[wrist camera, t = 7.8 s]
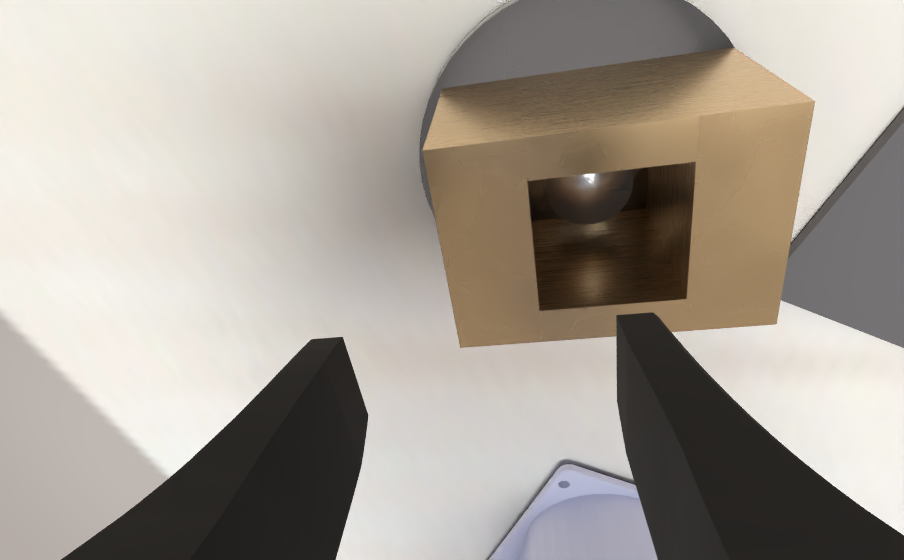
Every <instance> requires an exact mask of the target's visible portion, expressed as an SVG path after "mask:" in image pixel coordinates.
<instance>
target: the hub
mask: <svg viewBox="0 0 904 560" xmlns="http://www.w3.org/2000/svg"><path fill="white" fill-rule="evenodd" d="M731 47H734V46H733V45H732V43H731V41H730V40H729V38H728V37H727V36H726V35H725V34H724V33H723V32H722V30H721V29H720V28H719V27H718V26H717V25H716V24H715V23H714V22H713V21H712V20H711V19H710V18H709V17H707V16H706V15H705V14H704V13H702V12H701V11H700V10H699V9H697V8H696V7H695V6H693V5H692V4H690V3H688V2H686V1H685V0H511V1H509V2H507V3H505V4H503V5H502V6H501V7H499V8H498V9H497V10H495V11H494V12H492V13H491V14H490V15H488V16H487V17H486V18H484V19H483V20H482V21H481V22H480V23H479V24H478V25H477V26H476V27H475V28H474V29H473V30H472V31H471V32H470V33H468V34H467V35H466V37H465V38H464V39H463V40H462V42H461V43H460V44H459V45H458V47H457V48H456V49H455V50H454V52H453V53H452V54H451V56H450V58H449V59H448V61H447V63H446V64H445V66H444V68H443V69H442V71H441V73H440V75H439V77H438V79H437V82H436V84H435V86H434V88H433V91H432V93H431V96H430V98H429V101H428V105H427V108H426V112H425V115H424V119H423V124H422V131H421V138H420V168H421V175H422V182H423V186H424V189H425V193H426V197H427V200H428V203H429V205H430V207H431V210H432V212H433V214H434V209H433V203H432V198H431V193H430V188H429V183H428V177H427V172H426V167H425V162H424V157H423V151H422V150H423V147H424V144H425V141H426V138H427V135H428V132H429V129H430V125H431V122H432V119H433V116H434V113H435V110H436V107H437V104H438V101H439V98H440V95H441V91H442V88H448V87H455V86H462V85H469V84H476V83H483V82H490V81H497V80H505V79H512V78H519V77H526V76H533V75H540V74H547V73H554V72H561V71H568V70H575V69H583V68H590V67H597V66H604V65H611V64H618V63H625V62H632V61H639V60H646V59H653V58H661V57H668V56H675V55H682V54H689V53H696V52H703V51H710V50H717V49H724V48H731ZM528 184H529V194H530V205H531V216H532V221H534V220H544V219H553V218H563V219H565V220H567V221H569V222H572V223H576V224H583V225H587V224H596V223H600V222H603V221H605V220H607V219H609V218H611V217H613V216H614V215H616V214H617V213H618V212H620V211H630V210H639V209H646V186H647V167H646V168H637V169H628V170H620V171H611V172H602V173H593V174H585V175H576V176H567V177H559V178H550V179H541V180H532V181H528ZM434 217H435V214H434Z"/></svg>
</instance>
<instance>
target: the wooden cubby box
mask: <svg viewBox="0 0 904 560" xmlns="http://www.w3.org/2000/svg"><path fill="white" fill-rule="evenodd" d="M814 104H815V101H814V100H812V99H811V98H809V97H808V96H806V95H805V94H803V93H802V92H800V91H799V90H797V89H796V88H794V87H793V86H791V85H790V84H788V83H787V82H785V81H784V80H782V79H781V78H779V77H778V76H776V75H775V74H773V73H772V72H770V71H769V70H767V69H766V68H764V67H763V66H761V65H760V64H758V63H757V62H755V61H753V60H752V59H750V58H749V57H747V56H746V55H744V54H743V53H741V52H740V51H738V50H737V49H735V48H734V47H731V48H724V49H717V50H710V51H703V52H696V53H689V54H682V55H675V56H668V57H661V58H653V59H646V60H639V61H632V62H625V63H618V64H611V65H604V66H597V67H590V68H583V69H575V70H568V71H561V72H554V73H547V74H540V75H533V76H526V77H519V78H512V79H505V80H497V81H490V82H483V83H476V84H469V85H462V86H455V87H448V88H442V91H441V95H440V98H439V101H438V104H437V107H436V110H435V113H434V116H433V119H432V122H431V125H430V129H429V132H428V135H427V138H426V141H425V144H424V147H423V150H422V151H423V157H424V162H425V167H426V172H427V177H428V183H429V188H430V193H431V198H432V203H433V209H434V214H435V219H436V224H437V229H438V234H439V240H440V245H441V250H442V255H443V260H444V266H445V271H446V276H447V281H448V286H449V292H450V297H451V302H452V307H453V312H454V318H455V323H456V328H457V333H458V338H459V344H460V348H463V347H476V346H490V345H503V344H517V343H530V342H544V341H557V340H571V339H584V338H597V337H611V336H617V333H616V315H624V314H637V313H649V312H653V313H654V314H656V315H657V316H658V317H659V318H660V319H661V320H662V322H663V323H664V324H665V325H666V326H667V328H668V329H669V330H670V331H671V332H678V331H692V330H705V329H719V328H732V327H746V326H759V325H773V324H777V318H778V312H779V306H780V300H781V295H782V289H783V283H784V277H785V272H786V266H787V260H788V254H789V248H790V243H791V237H792V231H793V225H794V220H795V214H796V208H797V202H798V196H799V191H800V185H801V179H802V173H803V167H804V162H805V156H806V150H807V144H808V139H809V133H810V127H811V121H812V115H813V110H814ZM646 167H647V186H646V209H639V210H630V211H620V212H618V213H617V214H616V215H614V216H613V217H611V218H609V219H607V220H605V221H603V222H600V223H596V224H587V225H583V224H576V223H572V222H569V221H567V220H565V219H563V218H553V219H544V220H534V221H532V216H531V205H530V194H529V184H528V181H532V180H541V179H550V178H559V177H567V176H576V175H585V174H593V173H602V172H611V171H620V170H628V169H637V168H646Z"/></svg>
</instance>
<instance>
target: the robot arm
mask: <svg viewBox="0 0 904 560" xmlns="http://www.w3.org/2000/svg"><path fill="white" fill-rule="evenodd" d="M616 333H617V403H618V409H619V415H620V420H621V426H622V432H623V437H624V443H625V448H626V454H627V457H628V461H629V464H630V468H631V471H632V475H633V478H634V481H635V485H634V484H631V483H628V482H625V481H621V480H618V479H615V478H612V477H609V476H606V475H603V474H600V473H597V472H594V471H591V470H588V469H585V468H582V467H579V466H575V465H572V464H565V465H562V466H560V467H559V468H558V469H557V471H556V472H555V473H554V475H553V476H552V477H551V479H550V480H549V481H548V483H547V484H546V485H545V486H544V488H543V489H542V490H541V492H540V493H539V494H538V496H537V497H536V498H535V500H534V501H533V502H532V504H531V505H530V506H529V507H528V509H527V510H526V511H525V513H524V514H523V515H522V517H521V518H520V519H519V521H518V522H517V523H516V525H515V526H514V527H513V528H512V530H511V531H510V532H509V534H508V535H507V536H506V538H505V539H504V540H503V542H502V543H501V544H500V546H499V547H498V548H497V550H496V551H495V552H494V553H493V555H492V556H491V557H490V559H489V560H904V535H902V534H901V533H899V532H898V531H896V530H895V529H893V528H892V527H891V526H889V525H888V524H886V523H885V522H883V521H882V520H880V519H879V518H877V517H876V516H874V515H873V514H871V513H870V512H868V511H867V510H865V509H864V508H863V507H861V506H860V505H859V504H857V503H856V502H855V501H853V500H852V499H850V498H849V497H848V496H846V495H845V494H844V493H842V492H841V491H840V490H838V489H837V488H836V487H834V486H833V485H832V484H830V483H829V482H828V481H827V480H825V479H824V478H823V477H822V476H820V475H819V474H818V473H816V472H815V471H814V470H813V469H811V468H810V467H809V466H808V465H806V464H805V463H804V462H803V461H801V460H800V459H799V458H798V457H797V456H795V455H794V454H793V453H792V452H791V451H789V450H788V449H787V448H786V447H785V446H784V445H782V444H781V443H780V442H779V441H778V440H777V439H776V438H774V437H773V436H772V435H771V434H770V433H769V432H768V431H767V430H766V429H764V428H763V427H762V426H761V425H760V424H759V423H758V422H757V421H756V420H755V419H753V418H752V417H751V416H750V415H749V414H748V413H747V412H746V411H745V410H744V409H743V408H742V407H741V406H740V405H739V404H738V403H737V402H736V401H734V400H733V399H732V398H731V396H730V395H729V394H728V393H727V392H726V391H725V390H724V389H723V388H722V387H721V386H720V385H719V384H718V383H717V382H716V381H715V380H714V379H713V378H712V377H711V376H710V375H709V374H708V373H707V372H706V371H705V370H704V369H703V368H702V367H701V366H700V365H699V363H698V362H697V361H696V360H695V359H694V358H693V357H692V356H691V355H690V353H689V352H688V351H687V350H686V349H685V348H684V347H683V346H682V344H681V343H680V342H679V341H678V340H677V339H676V337H675V336H674V335H673V334H672V333H671V331H670V330H669V329H668V328H667V326H666V325H665V324H664V323H663V322H662V320H661V319H660V318H659V317H658V316H657V315H656V314H654V313H653V312H649V313H637V314H624V315H616ZM367 422H368V413H367V410H366V407H365V404H364V401H363V398H362V395H361V392H360V389H359V386H358V383H357V379H356V376H355V373H354V370H353V367H352V364H351V361H350V358H349V355H348V352H347V349H346V346H345V343H344V340H343V337H336V338H323V339H312V340H310V341H309V342H308V343H307V344H306V345H305V346H304V347H303V348H302V349H301V350H300V351H299V352H298V353H297V354H296V355H295V356H294V357H293V358H292V359H291V360H290V362H289V363H288V364H287V365H286V366H285V367H284V368H283V369H282V370H281V371H280V372H279V373H278V374H277V375H276V376H275V377H274V378H273V379H272V380H271V381H270V382H269V384H268V385H267V386H266V387H265V388H264V389H263V390H262V391H261V392H260V393H259V394H258V395H257V396H256V397H255V398H254V399H253V400H252V401H251V402H250V403H249V404H248V405H247V406H246V407H245V408H244V409H243V410H242V411H241V412H240V413H239V414H238V415H237V416H236V417H235V418H234V419H233V420H232V421H231V422H230V423H229V424H228V425H227V426H226V427H225V428H224V429H223V430H221V431H220V432H219V433H218V434H217V435H216V436H215V437H214V438H213V439H212V440H211V441H210V442H209V443H208V444H207V445H206V446H204V447H203V448H202V449H201V450H200V451H199V452H198V453H197V454H196V455H195V456H194V457H193V458H192V459H191V460H190V461H188V462H187V463H186V464H185V465H184V466H183V467H182V468H180V469H179V470H178V471H177V472H176V473H175V474H173V475H172V476H171V477H170V478H169V479H168V480H166V481H165V482H164V483H163V484H162V485H160V486H159V487H158V488H157V489H155V490H154V491H153V492H152V493H150V494H149V495H148V496H147V497H145V498H144V499H143V500H142V501H141V502H140V503H138V504H137V505H136V506H134V507H133V508H132V509H130V510H129V511H128V512H126V513H125V514H124V515H123V516H121V517H120V518H118V519H117V520H116V521H114V522H113V523H112V524H110V525H109V526H107V527H106V528H105V529H103V530H102V531H100V532H99V533H98V534H96V535H95V536H93V537H92V538H91V539H89V540H88V541H86V542H85V543H84V544H82V545H81V546H80V547H78V548H77V549H75V550H74V551H73V552H71V553H70V554H68V555H67V556H66V557H64V558H63V559H61V560H335V559H336V556H337V552H338V549H339V545H340V542H341V538H342V535H343V531H344V527H345V524H346V520H347V517H348V513H349V510H350V506H351V502H352V499H353V495H354V491H355V488H356V484H357V480H358V477H359V473H360V469H361V465H362V458H363V452H364V445H365V438H366V430H367Z"/></svg>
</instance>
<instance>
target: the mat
mask: <svg viewBox="0 0 904 560" xmlns="http://www.w3.org/2000/svg"><path fill="white" fill-rule="evenodd" d="M781 300H782V301H785V302H787V303H790V304H793V305H795V306H798V307H800V308H803V309H805V310H808V311H811V312H813V313H816V314H818V315H821V316H823V317H826V318H828V319H831V320H834V321H836V322H839V323H841V324H844V325H846V326H849V327H852V328H854V329H857V330H859V331H862V332H864V333H867V334H870V335H872V336H875V337H877V338H880V339H882V340H885V341H887V342H890V343H893V344H895V345H898V346H900V347H903V348H904V109H903V110H902V111H901V112H900V114H899V115H898V116H897V117H896V118H895V120H894V121H893V122H892V123H891V124H890V126H889V127H888V128H887V129H886V130H885V132H884V133H883V134H882V135H881V136H880V138H879V139H878V140H877V141H876V142H875V144H874V145H873V146H872V147H871V148H870V150H869V151H868V152H867V153H866V154H865V156H864V157H863V158H862V159H861V160H860V162H859V163H858V164H857V165H856V166H855V168H854V169H853V170H852V171H851V172H850V174H849V175H848V176H847V177H846V178H845V180H844V181H843V182H842V183H841V184H840V186H839V187H838V188H837V189H836V190H835V192H834V193H833V194H832V195H831V196H830V198H829V199H828V200H827V201H826V202H825V204H824V205H823V206H822V207H821V209H820V210H819V211H818V212H817V213H816V215H815V216H814V217H813V218H812V219H811V221H810V222H809V223H808V224H807V225H806V227H805V228H804V229H803V230H802V231H801V233H800V234H799V235H798V236H797V237H796V239H795V240H794V241H793V242H792V243H791V245H790V248H789V254H788V260H787V266H786V272H785V277H784V283H783V289H782V295H781Z"/></svg>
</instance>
